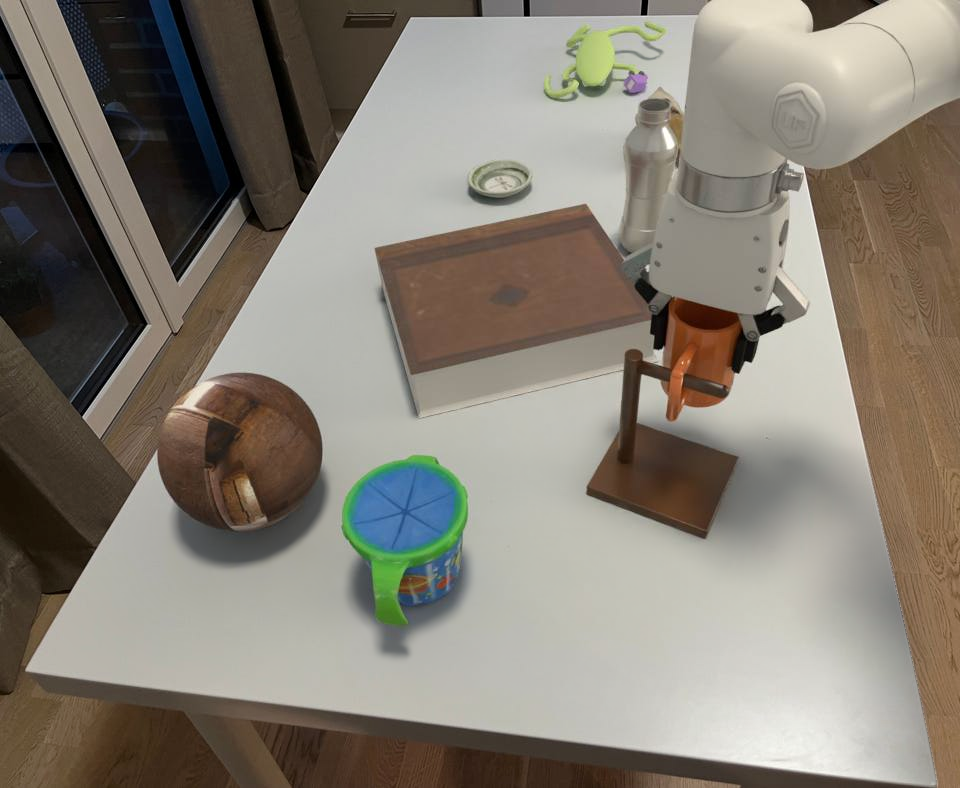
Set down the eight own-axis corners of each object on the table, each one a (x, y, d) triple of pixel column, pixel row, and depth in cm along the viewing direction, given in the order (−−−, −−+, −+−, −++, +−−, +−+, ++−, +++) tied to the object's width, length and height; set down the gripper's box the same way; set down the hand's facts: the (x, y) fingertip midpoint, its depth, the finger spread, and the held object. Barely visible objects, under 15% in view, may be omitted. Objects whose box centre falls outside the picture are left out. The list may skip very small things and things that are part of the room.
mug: (674, 352, 78) (683, 278, 72) (740, 371, 76) (755, 296, 69) (632, 425, 72) (639, 351, 65) (703, 448, 69) (716, 374, 63)
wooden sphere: (223, 439, 87) (175, 336, 77) (353, 449, 85) (323, 343, 74) (163, 555, 77) (99, 454, 66) (310, 569, 74) (268, 467, 64)
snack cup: (396, 495, 80) (380, 427, 73) (497, 515, 77) (490, 447, 70) (333, 634, 70) (306, 571, 62) (447, 663, 67) (432, 600, 60)
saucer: (455, 190, 120) (454, 175, 119) (503, 166, 124) (502, 152, 123) (497, 214, 115) (496, 199, 113) (546, 188, 119) (545, 173, 117)
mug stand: (737, 464, 79) (764, 351, 69) (705, 539, 74) (729, 428, 63) (625, 426, 84) (633, 315, 73) (586, 493, 78) (589, 383, 68)
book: (382, 289, 104) (374, 247, 100) (585, 245, 108) (586, 203, 103) (418, 418, 87) (410, 375, 83) (657, 361, 91) (662, 317, 86)
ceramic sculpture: (696, 75, 122) (706, 126, 112) (690, 126, 128) (699, 179, 119) (625, 78, 123) (629, 129, 113) (623, 129, 130) (626, 181, 120)
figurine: (667, 45, 152) (670, 14, 148) (643, 108, 135) (645, 75, 131) (573, 40, 157) (573, 11, 153) (538, 100, 140) (537, 68, 136)
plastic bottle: (669, 263, 104) (685, 117, 89) (616, 262, 105) (624, 117, 91) (668, 235, 108) (684, 92, 94) (618, 234, 109) (626, 92, 95)
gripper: (861, 173, 58) (809, 353, 71) (638, 132, 65) (626, 304, 78) (838, 225, 54) (786, 408, 67) (601, 176, 61) (595, 350, 73)
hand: (700, 350), depth 72 cm, fingers closed on mug, 6 cm apart
